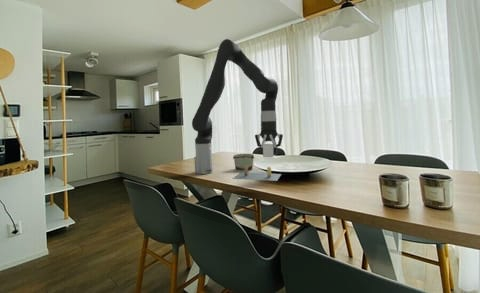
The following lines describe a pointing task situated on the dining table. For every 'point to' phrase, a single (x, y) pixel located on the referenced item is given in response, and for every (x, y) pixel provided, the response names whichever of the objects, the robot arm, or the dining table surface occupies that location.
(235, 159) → the food container
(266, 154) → the white block
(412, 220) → the dining table surface
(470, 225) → the dining table surface
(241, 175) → the board
